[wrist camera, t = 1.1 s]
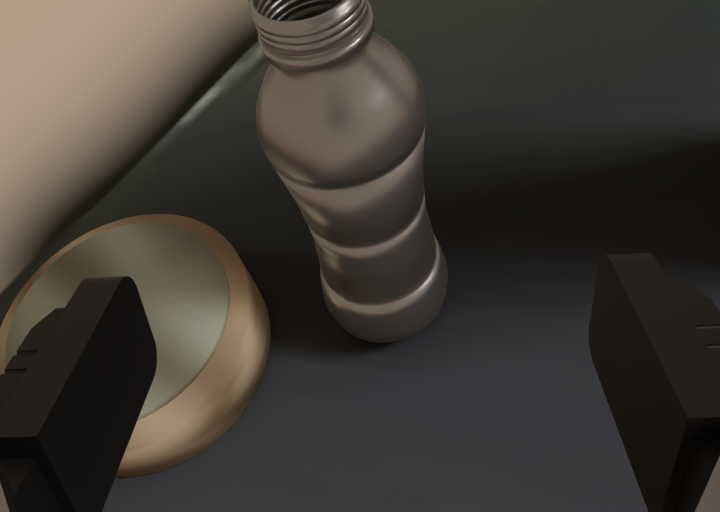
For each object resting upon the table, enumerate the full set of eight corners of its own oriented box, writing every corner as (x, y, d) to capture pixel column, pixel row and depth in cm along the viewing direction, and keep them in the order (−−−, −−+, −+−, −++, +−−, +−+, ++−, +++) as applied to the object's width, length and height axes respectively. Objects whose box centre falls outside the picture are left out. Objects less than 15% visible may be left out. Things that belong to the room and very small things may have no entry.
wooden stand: (146, 223, 44) (113, 179, 40) (318, 304, 38) (298, 261, 35) (-12, 402, 38) (-66, 369, 35) (161, 529, 33) (117, 506, 29)
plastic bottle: (316, 286, 39) (179, -20, 23) (420, 237, 40) (359, -95, 23) (359, 377, 35) (233, 89, 19) (474, 322, 36) (446, -4, 20)
